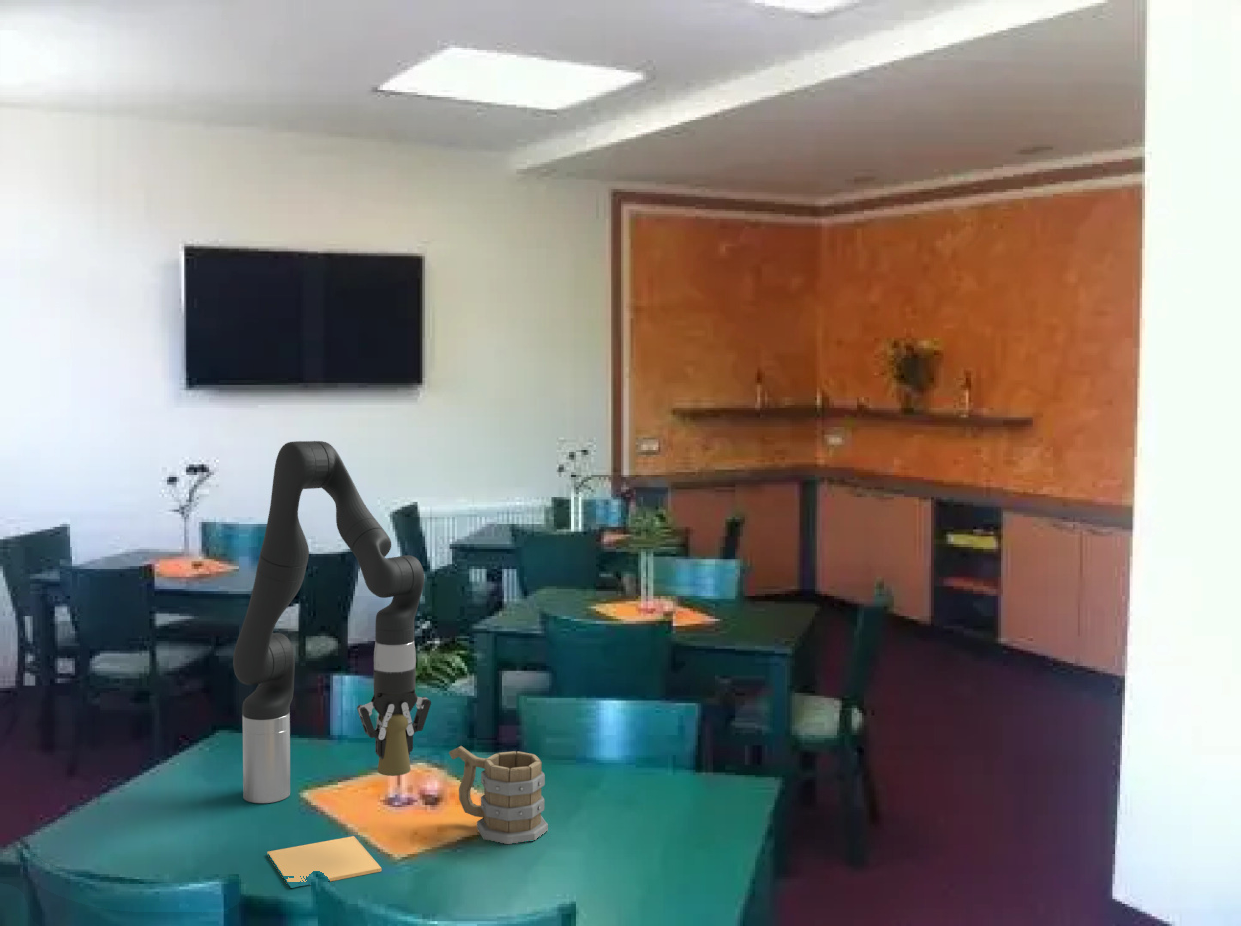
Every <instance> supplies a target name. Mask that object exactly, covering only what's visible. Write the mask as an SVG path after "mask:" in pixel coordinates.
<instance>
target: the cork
mask: <svg viewBox="0 0 1241 926" xmlns="http://www.w3.org/2000/svg"><path fill="white" fill-rule="evenodd" d="M407 719H408V718H406V717H405V716H403V714H394V715H392V716H391V718H390V719H389V720H388V723H387V727H386V728H385V730H386V734H385V738H384V739H386V746H385V753H384V758H383V759H381V758H380V757H379V756H378V764H377V773H378V774H380V775H382V776H390V777H397V776H403V775H406V774H408V773H410V772H411V761H410V755H409V753H408V746H407V739H406V728H407V727H408V720H407ZM380 720H381V721H383V718H382V717H381V719H380ZM386 722H387V721H386Z"/></svg>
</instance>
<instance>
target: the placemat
mask: <svg viewBox="0 0 1241 926" xmlns="http://www.w3.org/2000/svg"><path fill="white" fill-rule="evenodd" d="M268 854H269V855H270V857H271V858H272V860H273V861H274V863H275V864H276V865H277V867H278V869H279V870H280V871H281V873H282V875H283V876H294V878H289V877H288V879H286V880H287V882H300V881H301V882H303V881H304V882H306V881H307V880H306V881H305V879H306V876H307V877H308V876H309V874H311V873H312V872H313V871H320V872H322V873H324V875H325V876H327V877H328V879H329V880H330V882H336V881H339V880H340V881H341V880H344V879H350V878H355V877H360V876H364V875H369V874H374V873H375V874H376V873H379V872H382V867H381V866H380V864H379V863H378V862H377V861H376V860H375V859H374V858H373V856H372V855H371V854H370V853H369V851H367V849H366V848H365V847H364V846H363V844H362V843H361V842H359V840H358V839H357V838H356V837H355V836H354V835H352V836H348V837H342V838H335V839H330V840H326V841H325V840H324V841H319V842H314V843H308V844H304V845H303V844H301V845H298V846H297V845H296V846H291V847H287V848H286V847H285V848H280V849H276V850H271V851H270V850H269V851H267V855H268ZM300 876H301V877H300ZM303 876H304V878H305V879H304V878H303ZM301 878H302V879H301ZM302 880H303V881H302Z"/></svg>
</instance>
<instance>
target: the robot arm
mask: <svg viewBox="0 0 1241 926" xmlns="http://www.w3.org/2000/svg"><path fill="white" fill-rule="evenodd" d="M274 465H275V466H274V470H273V478H272V479H273V480H272V488H271V495H270V503H269V504H270V506H269V511H268V517H267V523H266V528H265V531H264V532H265V533H264V538H263V542H262V545H261V548H260V549H261V550H260V553H259V557H258V561H257V566H256V572H255V578H254V582H253V588H252V590H251V595H250V598H249V602H248V605H247V606H248V607H247V610H246V615H245V616H244V620H243V623H242V626H241V630H240V632H239V634H238V638H237V641H236V644H235V647H234V652H233V657H232V665H233V670H234V671H233V672H234V675H235V676H236V679H237V680H238V681H239V682H240V683H242V684H244V685H247V686H252V685H257V687H256V688H255V690H253V692H252V693H251V694H249V695H248V696H247V697H246V698H245V699H244V700H243V702H242V706H241V707H242V775H243V776H242V786H243V788H242V790H243V792H242V793H243V795H242V798H243V799H244V800H245V801H246V802H249V803H253V804H254V803H255V804H269V803H270V804H271V803H275V802H276V803H277V802H279V801H283V800H285V799H287V798H288V797H290V794H291V736H290V735H291V722H290V721H291V718H290V717H291V715H290V713H291V712H290V710H291V709H290V706H291V704H292V701H293V697H294V690H295V689H294V687H295V669H296V668H295V667H296V666H295V665H296V664H295V663H296V662H295V661H296V660H295V659H296V658H295V651H294V647H293V644H292V642H291V640H290V639H289V638H288V637H287V636H286V635H285V634H283V633H280V632H274V629H275V627H276V625H277V623H278V621H279V620H280V617H282V615H283V614H284V612H285V610H286V609H287V608H288V607H289V606H290V604H291V602H292V601H293V600H294V599H295V597H296V596H297V594H298V592H299V591H300V589H301V587H302V584H303V582H304V579H305V575H306V570H307V568H308V567H307V566H308V561H309V558H310V557H309V556H310V555H309V554H310V548H309V545H308V540H307V538H306V536H305V533H304V531H303V528H302V526H301V523H300V520H299V519H300V518H299V507H300V499H301V495H302V492H303V490H310V489H313V490H314V489H322V490H324V491H325V492H326V493H327V494H328V495H329V497H331V499H332V500H333V501H334V505H335V523H336V527H337V530H338V531H337V532H338V533H339V535H340V537H341V539H342V540H343V541H344V543H345V544H346V546H347V547H348V548H349V549H350V551H351V552H352V553H353V555H354V557H355V558H356V560H357V562H358V566H359V568H360V571H361V574H362V577H363V579H364V582H365V585H366V587H367V588H368V590H369V591H370V592H371V593H372V594H373V595H375V596H376V597H379V598H382V599H383V598H384V599H388V598H391V597H392V600H391V602H390V604H389V605H387V606H385V607H383V608H382V609H380V610H378V612H377V613H376V615H375V634H374V635H375V637H374V638H375V639H374V640H375V644H374V651H373V696H372V698H371V701H369V702H368V703H366V704H358V705H357V706H356V710H357V713H358V715H359V718H360V721H361V724H362V727H363V730H364V734H366V735H368V737H369V738H371V739H374V738H375V743H374V744H375V754H376V755H377V756H378V758H379V757H380V758H381V759H383V758H384V753H385V746H386V739H384V738H385V734H386V730H385V728H386V727H387V723H388V720H389V719H390V718H391V716H392V715H394V714H403V716H405V717H406V718H408V719H407V720H408V727H407V728H406V739H407V746H408V753H409V756H410V755H411V752H413V749H414V734H415V733H417V732H421V731H423V729H424V727H425V723H426V721H427V718H428V714H429V712H430V708H431V705H432V701H431V700H430V699H429V698H428V697H426V696H422V697H420V696H418V695H417V693H416V663H417V658H416V657H417V656H416V646H415V618H416V614H417V612H418V607H419V605H420V601H421V597H422V593H423V588H424V585H425V572H424V568H423V566H422V564H421V562H420V561H419V559H418V558H417V557H415V556H413V555H400V556H393V557H387V558H386V556H387V555H388V554H389V553H390V551H391V549H392V540H391V538H390V537H389V536H390V535H388V533H387V532H386V531H385V529H384V528H383V526H381V524H380V523H379V522H378V520H377V519H376V518H375V517H374V516H373V514H372V513H371V511H370V510H369V508H368V506H366V504H365V502H364V501H363V499H362V497H361V495H360V493H359V491H358V489H357V486H356V485H355V483H354V481H353V479H352V477H351V475H350V473H349V472H348V469H347V468H346V466H345V464H344V462H343V460H342V458H341V456H340V454H339V453H338V451H337V450H336V449H335V447H334V446H333V445H332V444H330V443H329V442H326V441H322V440H321V441H320V440H311V441H310V440H308V441H307V440H306V441H301V440H299V441H296V440H295V441H289V442H286V443H284V445H282V447H280V449H279V451H278V454H277V457H276V458H275V464H274ZM414 707H416V713H415V715H414V718H413V720H412V717H411V713H410V712H411V711H412V710H413V708H414ZM373 709H374V710H375V711H376V713H377V718H376V725H375V728H374V725H373V722H372V720H371V716H372V715H373V712H372V711H373ZM381 717H382V718H383V721H381V720H380V719H381ZM386 721H387V722H386Z"/></svg>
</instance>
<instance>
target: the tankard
mask: <svg viewBox="0 0 1241 926" xmlns="http://www.w3.org/2000/svg"><path fill="white" fill-rule="evenodd" d="M448 755H449V756H450V757H451V759H452V760H456V759H457V758H460V760H462V761H463V762H464V768H463V776H462V779H461V782H460V784H459V786H458V799H459V803H460V804H461V807H462V809H463V811H464V813H466V814H468V815H471V816H473V817H478V818H480V819H478V820H477V822H476V830H477V831H478V833H479V834H480V836H481V837H482V839H483V840H485V841H489V840H491V841H490V842H493V841H495V842H494V843H498V842H500V843H499V844H503V843H504V845H507V844H508V845H513V844H512V843H516V844H519V843H518V842H524V841H527V840H528V841H530V840H535V841H536V840H538V839H539V838H540V837H542V836H543V835H545V834H546V833H547V832H548V831H549V824H548V822H546V820H545V819H544V817H543V816H542V812H544V811H545V798H544V797H543V795H542V788H543V787H544V786H545V784H546V782H545V781H546V779H545V777H546V776H545V773H544V772H543V771H542V764H543V763H542V761H541V759H540V758H539V757H538V756H537V755H536V754H534V753H528V752H524V751H516V750H514V751H504V752H503V751H502V752H497V753H495V754H492V755H490V756H489V757H487V758H486V757H485V758H484V757H478V756H477V755H475V754H474V753H471V751H469V750H467V749H466V748H465V747H463V746H462V745H460V746H458V747H457V748H454V749H452V750H450V751H449V752H448ZM477 768H480V769H484V770H482V771H481V772H480V776H481V777H480V783H481V785H482V786H483V787H484V791H483V792H484V793H483V795H482V796H481V797H480V805H477V804H476V803H473V800H472V797H471V791H472V787H473V784H474V781H475V778H476V774H477V773H476V770H477ZM546 831H547V832H546ZM545 832H546V833H545ZM544 833H545V834H544ZM542 834H543V835H542ZM541 835H542V836H541ZM539 836H540V837H539ZM538 837H539V838H538ZM537 838H538V839H537Z"/></svg>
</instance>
